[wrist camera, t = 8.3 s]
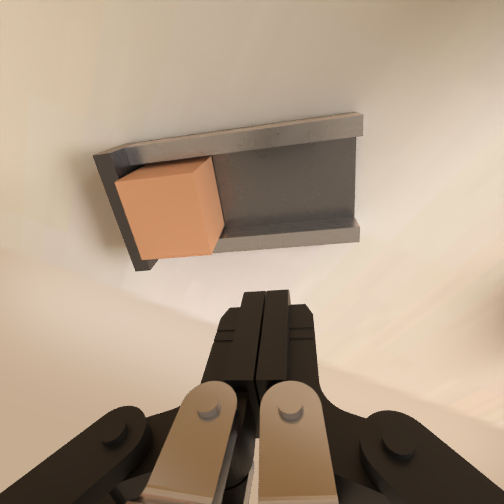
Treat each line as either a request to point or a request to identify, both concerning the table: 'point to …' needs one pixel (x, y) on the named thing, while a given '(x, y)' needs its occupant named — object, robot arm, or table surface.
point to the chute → (260, 181)
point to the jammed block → (173, 208)
